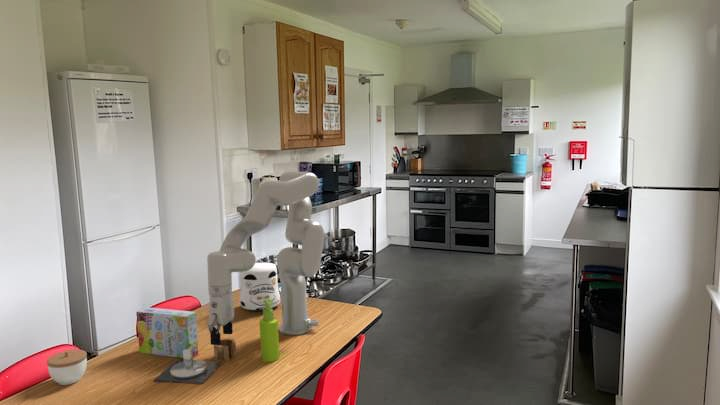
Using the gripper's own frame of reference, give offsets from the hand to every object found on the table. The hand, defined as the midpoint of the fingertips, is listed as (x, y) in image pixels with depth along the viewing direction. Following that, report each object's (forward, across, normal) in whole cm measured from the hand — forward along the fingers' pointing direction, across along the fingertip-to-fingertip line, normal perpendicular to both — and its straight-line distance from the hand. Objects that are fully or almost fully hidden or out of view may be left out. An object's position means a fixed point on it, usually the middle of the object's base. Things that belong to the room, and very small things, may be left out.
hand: (221, 339), depth 174 cm
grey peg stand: (+7, -11, +6) cm, 15 cm away
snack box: (+7, +2, +20) cm, 22 cm away
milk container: (+5, +50, +4) cm, 50 cm away
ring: (+6, +1, -1) cm, 7 cm away
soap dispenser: (+6, +1, -17) cm, 18 cm away
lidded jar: (+8, -20, +41) cm, 47 cm away
